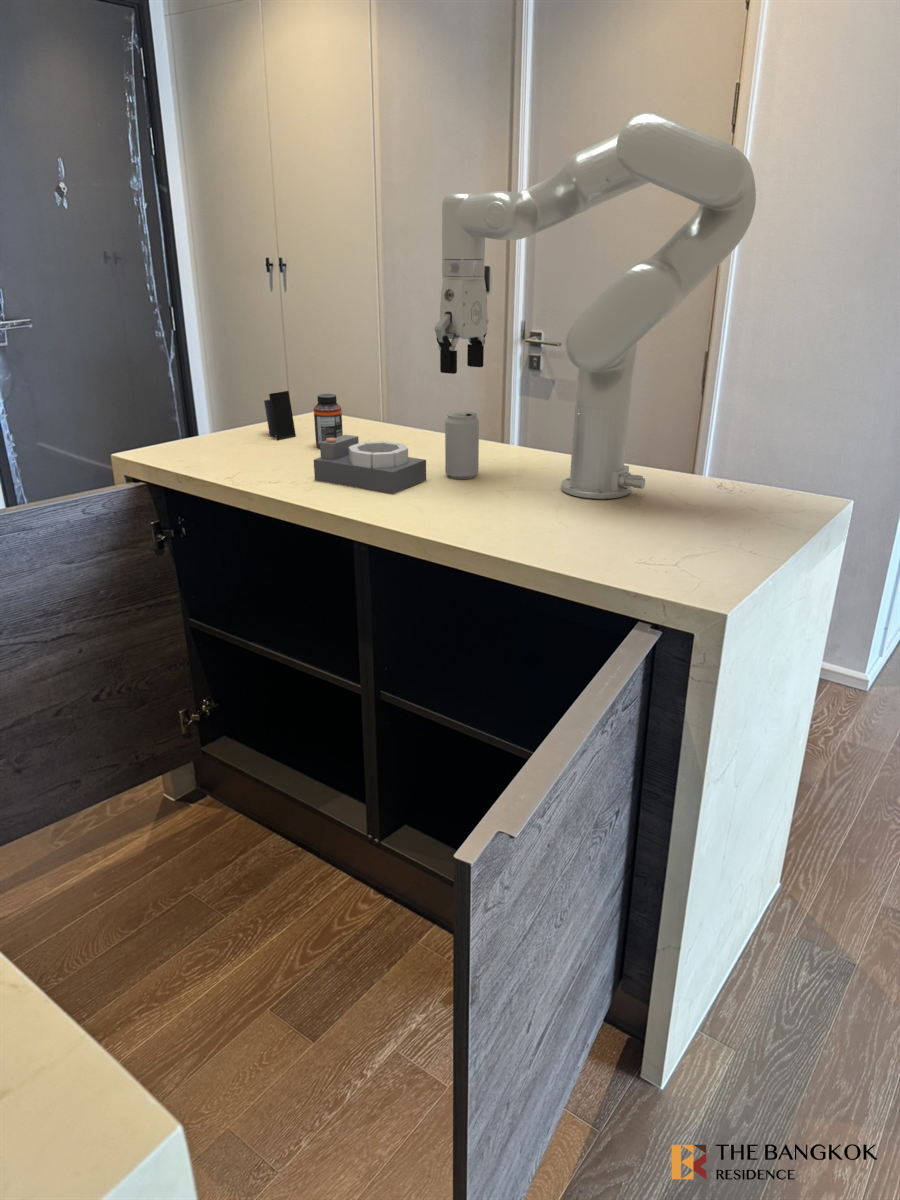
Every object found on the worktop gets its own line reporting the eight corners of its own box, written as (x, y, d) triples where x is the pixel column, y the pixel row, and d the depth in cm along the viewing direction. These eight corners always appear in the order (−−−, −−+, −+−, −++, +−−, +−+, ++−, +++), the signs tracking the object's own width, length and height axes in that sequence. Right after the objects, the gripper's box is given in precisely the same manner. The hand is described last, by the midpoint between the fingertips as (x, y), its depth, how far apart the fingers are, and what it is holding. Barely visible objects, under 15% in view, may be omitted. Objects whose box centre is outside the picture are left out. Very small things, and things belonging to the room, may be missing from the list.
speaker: (301, 436, 197) (294, 390, 194) (277, 440, 195) (270, 393, 191) (290, 433, 204) (283, 389, 200) (267, 437, 201) (259, 392, 198)
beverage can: (478, 480, 164) (479, 417, 159) (444, 480, 164) (444, 416, 159) (478, 472, 169) (479, 410, 165) (445, 471, 170) (445, 410, 165)
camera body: (426, 480, 163) (425, 440, 160) (393, 494, 155) (392, 452, 152) (350, 468, 172) (348, 429, 169) (314, 480, 163) (312, 440, 160)
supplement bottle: (320, 443, 192) (317, 392, 187) (346, 444, 191) (344, 392, 187) (312, 449, 186) (309, 396, 182) (339, 450, 186) (336, 397, 181)
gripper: (456, 272, 144) (455, 377, 150) (504, 269, 157) (502, 366, 164) (418, 271, 147) (419, 374, 154) (469, 268, 161) (467, 363, 167)
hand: (462, 369), depth 159 cm, fingers open, 9 cm apart
